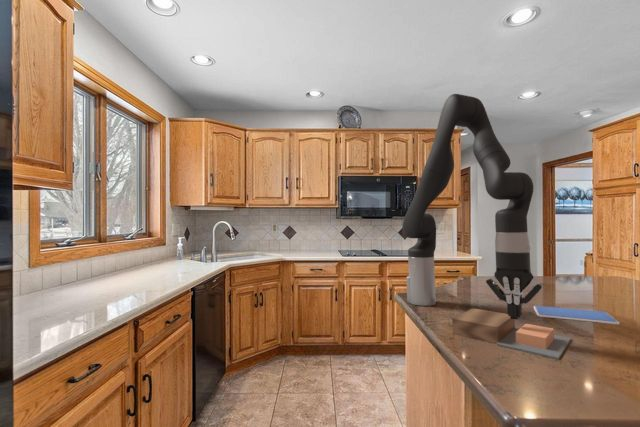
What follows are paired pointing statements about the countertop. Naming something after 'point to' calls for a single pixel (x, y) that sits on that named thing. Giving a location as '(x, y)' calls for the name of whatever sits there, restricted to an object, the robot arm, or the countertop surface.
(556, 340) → the mat
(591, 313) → the tablet computer
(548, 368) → the countertop surface
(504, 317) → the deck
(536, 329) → the orange rectangular block
